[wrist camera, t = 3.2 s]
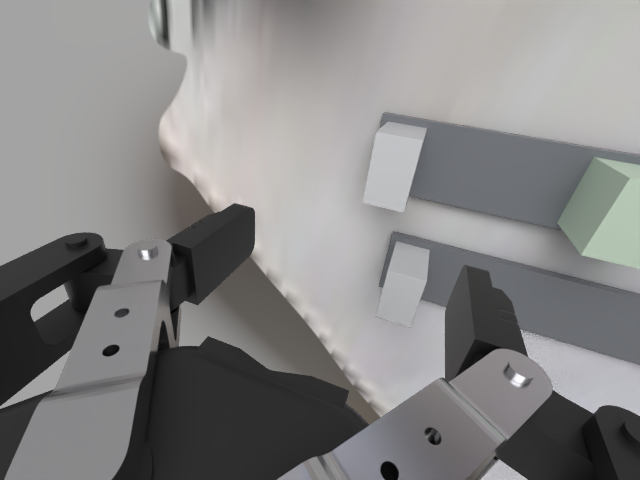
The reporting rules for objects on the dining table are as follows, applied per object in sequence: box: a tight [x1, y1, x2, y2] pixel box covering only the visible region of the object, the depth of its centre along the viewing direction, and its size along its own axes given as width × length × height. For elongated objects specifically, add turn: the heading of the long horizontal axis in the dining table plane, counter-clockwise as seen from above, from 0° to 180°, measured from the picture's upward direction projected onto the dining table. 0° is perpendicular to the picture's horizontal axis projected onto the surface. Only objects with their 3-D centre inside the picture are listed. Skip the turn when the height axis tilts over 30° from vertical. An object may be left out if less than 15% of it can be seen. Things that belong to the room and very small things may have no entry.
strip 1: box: [362, 113, 640, 230], centre depth 21 cm, size 26×6×6 cm, turn 83°
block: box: [557, 157, 640, 269], centre depth 20 cm, size 5×5×5 cm
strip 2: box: [375, 231, 640, 365], centre depth 25 cm, size 26×6×6 cm, turn 83°
